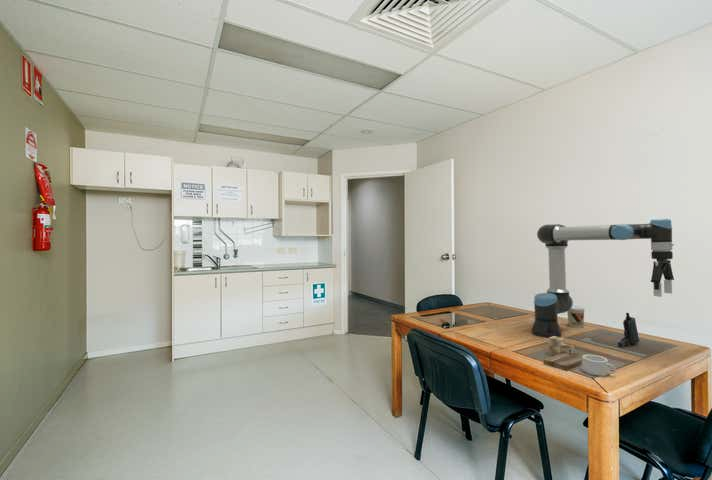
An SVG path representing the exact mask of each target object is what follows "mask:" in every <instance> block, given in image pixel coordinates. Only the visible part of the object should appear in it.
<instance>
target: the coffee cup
mask: <svg viewBox="0 0 712 480" xmlns="http://www.w3.org/2000/svg"><path fill="white" fill-rule="evenodd" d="M566 314H567V320H568V322H567V323H568V327H569V328H575V329H583V328H584V325H585V323H584V322H585V308H584V307H582V306H578V305H577V306H576V305H575V306H574V305H573V306H572V308H571V309H570V310H568V311H567V312H566Z"/></svg>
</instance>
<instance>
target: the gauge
mask: <svg viewBox="0 0 712 480" xmlns="http://www.w3.org/2000/svg"><path fill="white" fill-rule="evenodd" d="M566 349H567V350H568V351H569V353H571V352H572V351H574V350H575V346H574V345H571V344H567V343H566V340H565V338H564V337H561V336H560V337H556V336H552V337H548V354H549V355H551V356H554V355H556V354H559V353H562V352H564V351H566Z"/></svg>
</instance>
